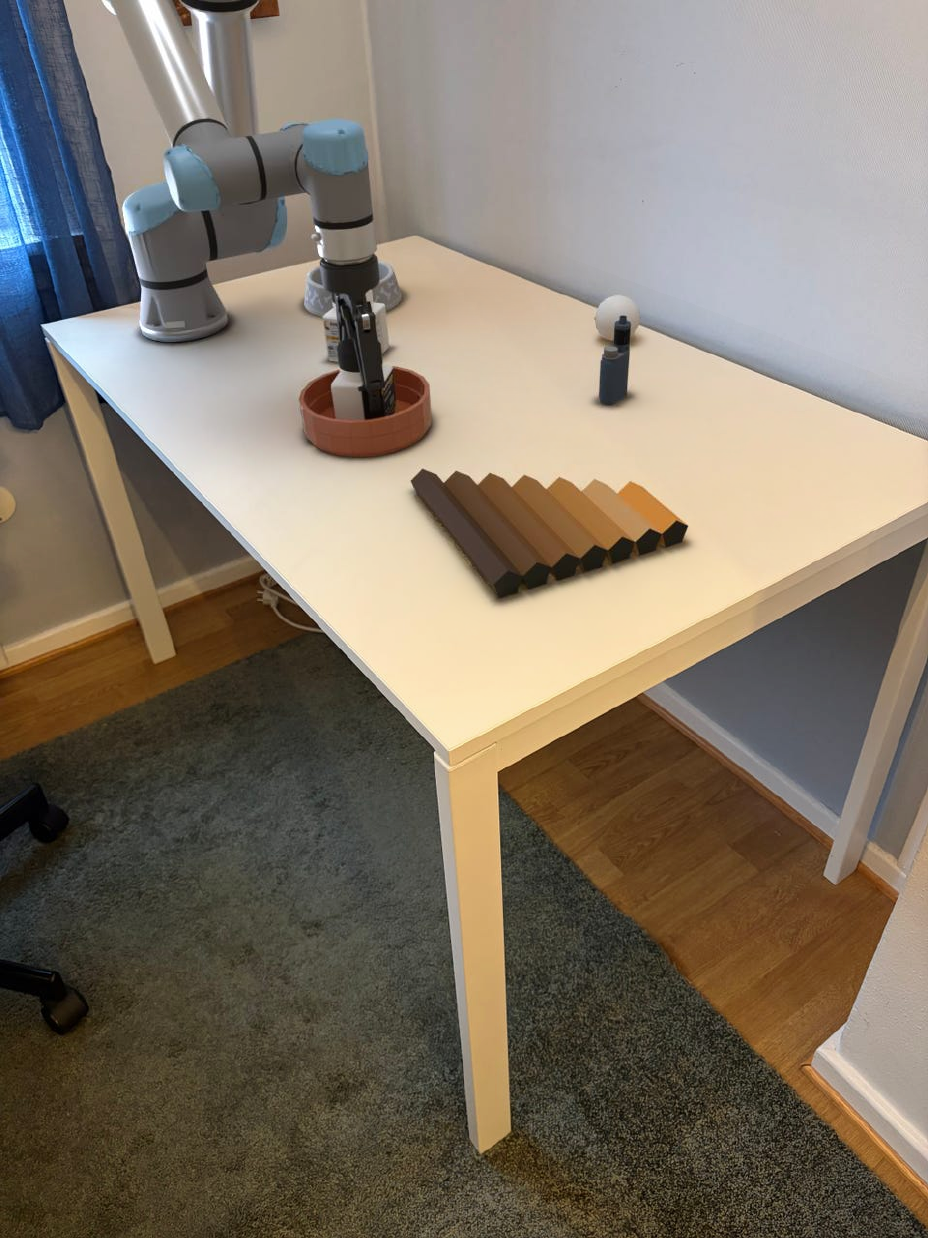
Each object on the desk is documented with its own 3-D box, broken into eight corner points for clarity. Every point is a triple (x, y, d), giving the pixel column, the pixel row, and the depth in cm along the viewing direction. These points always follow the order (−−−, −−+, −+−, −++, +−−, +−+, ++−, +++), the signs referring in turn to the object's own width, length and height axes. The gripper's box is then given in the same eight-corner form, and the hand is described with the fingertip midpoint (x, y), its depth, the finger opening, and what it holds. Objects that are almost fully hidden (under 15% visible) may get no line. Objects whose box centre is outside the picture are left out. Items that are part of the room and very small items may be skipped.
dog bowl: (399, 315, 172) (396, 286, 168) (298, 320, 172) (293, 290, 169) (405, 282, 185) (402, 254, 182) (311, 286, 186) (307, 258, 182)
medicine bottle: (385, 433, 134) (376, 352, 127) (336, 431, 135) (325, 350, 128) (397, 410, 139) (390, 331, 132) (351, 408, 141) (340, 329, 133)
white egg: (647, 343, 157) (650, 299, 152) (606, 351, 155) (609, 307, 150) (618, 322, 164) (620, 280, 160) (579, 330, 162) (580, 287, 158)
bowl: (294, 412, 143) (288, 378, 139) (411, 390, 147) (408, 356, 144) (319, 469, 129) (313, 432, 126) (448, 442, 133) (446, 406, 130)
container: (327, 361, 157) (316, 282, 149) (349, 343, 163) (339, 266, 155) (369, 366, 155) (360, 286, 147) (390, 348, 160) (382, 270, 152)
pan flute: (411, 494, 123) (493, 600, 104) (409, 471, 121) (492, 575, 102) (582, 449, 130) (686, 540, 112) (582, 427, 128) (689, 516, 109)
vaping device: (630, 394, 142) (636, 316, 135) (609, 407, 139) (613, 327, 132) (616, 390, 144) (621, 312, 136) (595, 402, 141) (598, 323, 133)
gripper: (302, 236, 130) (325, 388, 144) (338, 287, 114) (360, 454, 128) (356, 228, 132) (373, 379, 146) (399, 277, 115) (413, 443, 129)
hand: (367, 414), depth 137 cm, fingers closed on medicine bottle, 9 cm apart
